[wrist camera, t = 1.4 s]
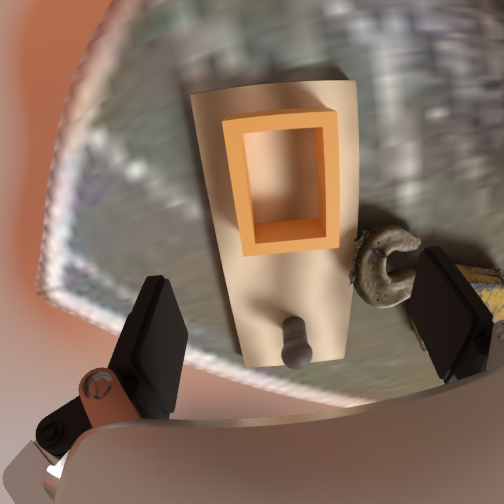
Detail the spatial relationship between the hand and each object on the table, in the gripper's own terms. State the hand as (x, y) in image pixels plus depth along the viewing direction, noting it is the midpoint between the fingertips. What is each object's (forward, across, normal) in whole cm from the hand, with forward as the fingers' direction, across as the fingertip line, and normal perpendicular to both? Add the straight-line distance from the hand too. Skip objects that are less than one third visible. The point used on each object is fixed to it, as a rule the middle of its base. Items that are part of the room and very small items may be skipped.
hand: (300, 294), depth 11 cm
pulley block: (+15, -19, +15) cm, 28 cm away
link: (+14, -1, 0) cm, 14 cm away
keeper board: (+16, -1, +8) cm, 18 cm away
